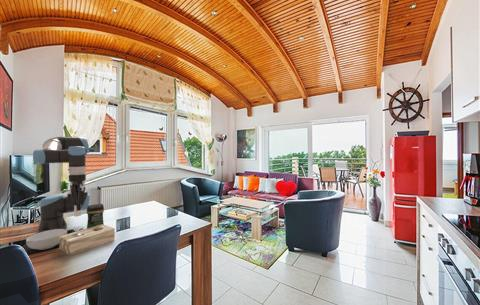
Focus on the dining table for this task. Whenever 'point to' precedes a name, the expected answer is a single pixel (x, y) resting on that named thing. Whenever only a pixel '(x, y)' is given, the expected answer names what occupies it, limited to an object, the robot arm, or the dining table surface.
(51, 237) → the cereal bowl
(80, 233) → the metal peg
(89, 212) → the coffee jar
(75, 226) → the dining table surface
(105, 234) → the birch block
